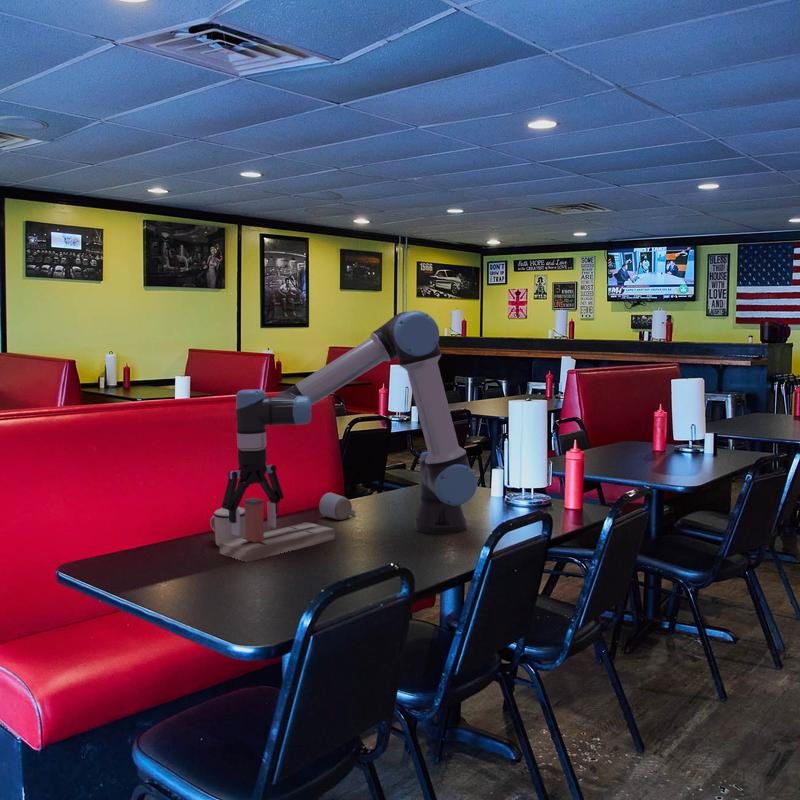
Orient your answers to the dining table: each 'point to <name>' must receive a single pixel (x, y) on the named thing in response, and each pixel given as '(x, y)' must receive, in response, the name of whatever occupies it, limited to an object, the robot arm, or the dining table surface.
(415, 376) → the robot arm
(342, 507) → the ceramic mug
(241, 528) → the teacup with lid
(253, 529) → the fader tab
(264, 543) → the panel
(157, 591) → the dining table surface
